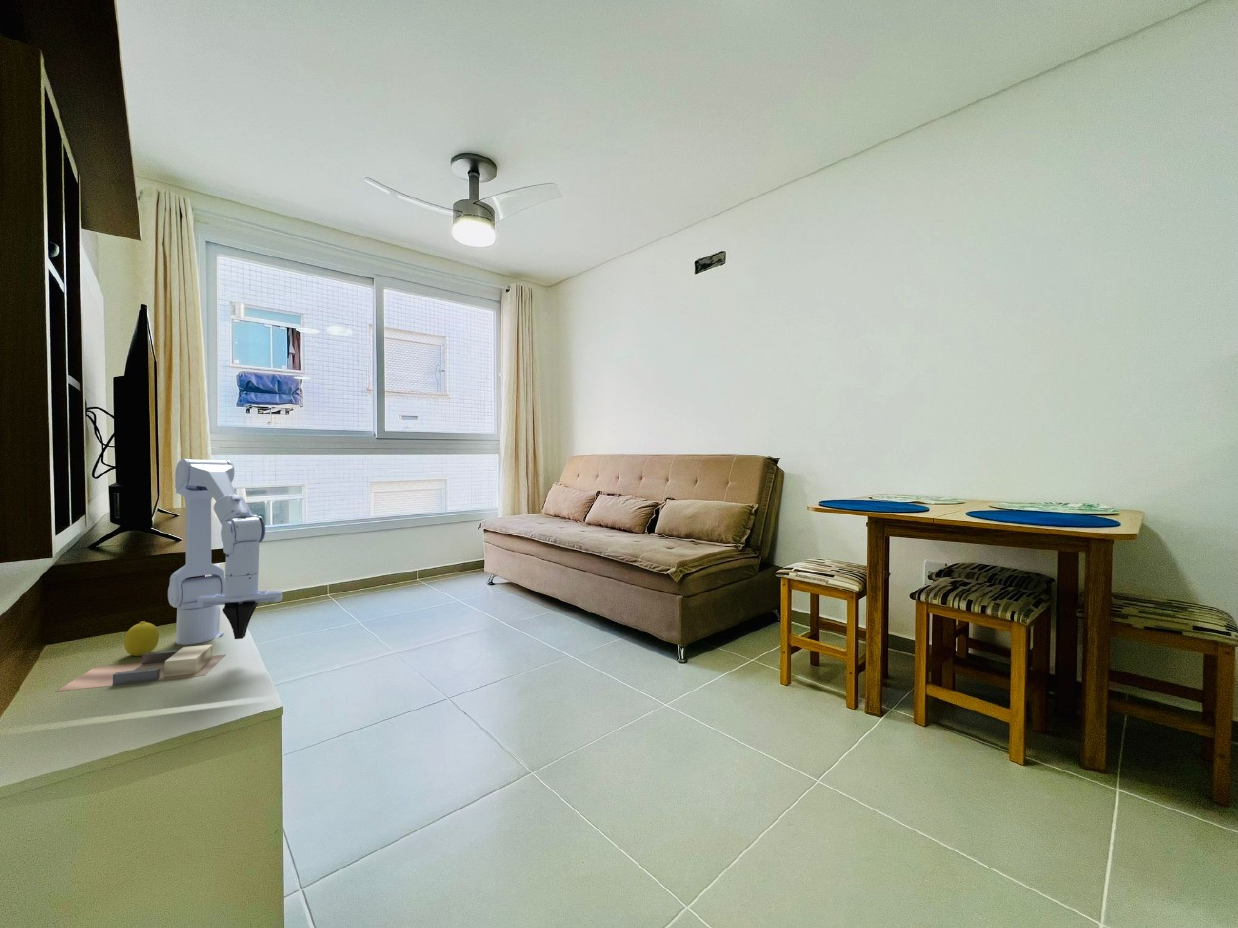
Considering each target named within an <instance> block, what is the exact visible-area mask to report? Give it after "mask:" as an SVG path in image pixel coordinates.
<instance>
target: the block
mask: <svg viewBox="0 0 1238 928" xmlns="http://www.w3.org/2000/svg"><path fill="white" fill-rule="evenodd" d="M178 650H179V651H178V652H177V653H175V654H174V655H173V656H171V657H170V658H169V659H167V660H166V661H165V667H164V677H167V676H177V675H186V674H195V673H197V672H198V671H199V670H200V669H201V668H202V667H203V666H204V665H205V664H207V663H208V662H209V661H210V660H211V659H212V656H213V644H203V645H193V646H192V645H191V646H183V647H182V648H180V649H178Z"/></svg>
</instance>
